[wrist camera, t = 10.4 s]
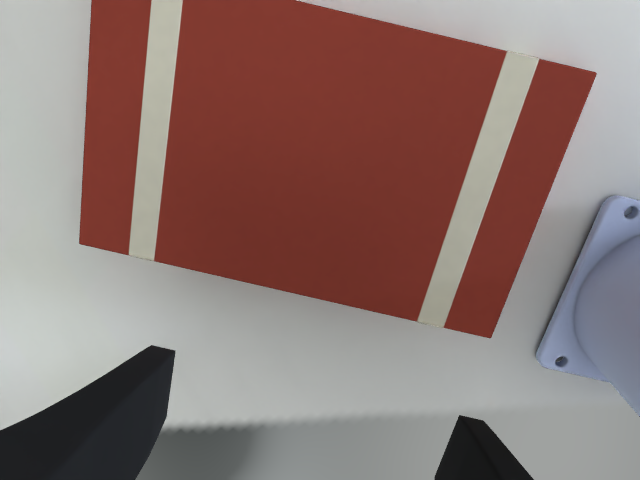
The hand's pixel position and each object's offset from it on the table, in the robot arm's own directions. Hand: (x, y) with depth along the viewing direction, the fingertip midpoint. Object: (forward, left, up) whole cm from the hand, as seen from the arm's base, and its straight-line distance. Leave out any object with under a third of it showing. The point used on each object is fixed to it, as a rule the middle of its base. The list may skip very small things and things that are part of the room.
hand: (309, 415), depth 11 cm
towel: (+2, -5, -9) cm, 11 cm away
